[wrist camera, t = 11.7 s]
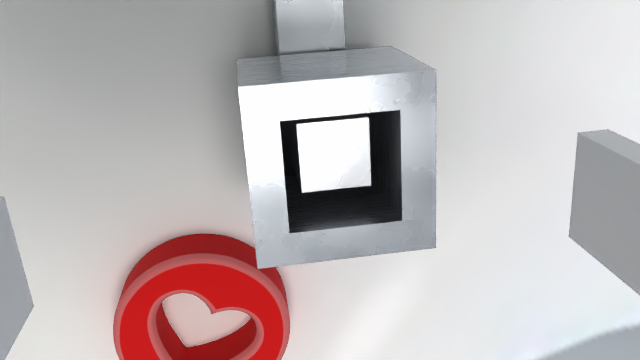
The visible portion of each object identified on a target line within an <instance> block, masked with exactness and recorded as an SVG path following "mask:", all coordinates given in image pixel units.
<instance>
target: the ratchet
mask: <svg viewBox="0 0 640 360" xmlns="http://www.w3.org/2000/svg"><path fill="white" fill-rule="evenodd" d="M273 12H274V24H275V35H276V47H277V56H278V55H290V54H303V53H315V52H327V51H339V50H345V31H344V10H343V0H273ZM280 130H281V142H282V153H283V165H284V176H285V175H295V174H296V175H297V178H298V182H299V185H300V188H301V192H302V193H304V192H314V191H323V190H333V189H342V188H351V187H361V186H370V185H371V166H370V138H369V117H368V116H367V115H366V114H365V113H361V114H350V115H339V116H329V117H318V118H307V119H297V120H286V121H280Z"/></svg>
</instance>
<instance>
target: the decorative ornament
mask: <svg viewBox="0 0 640 360" xmlns="http://www.w3.org/2000/svg"><path fill="white" fill-rule="evenodd" d="M177 293H189V294H193V295H195V296H197V297H199V298H200V299H201V300H202V301H204V302H205V303H206V304H207V306H208V307H209V309H210V311H211V314H214V313H216V312H220V311H224V310H239V311H242V312H245V313H247V314H248V315H250V316H251V317H252V318H251V319H250V320H249V321H248V322H247V323H246V324H245V325H244V326H243V327H241V328H240V329H239V330H237V331H235V332H234V333H232V334H230V335H228V336H226V337H224V338H221V339H219V340H216V341H213V342H210V343H206V344H203V345H199V346H194V347H189V348H187V347H185V346H184V345H183V343H182V342H181V341H180V339H179V338H178V336H177V335H176V333H175V332H174V330H173V329H172V327H171V325H170V324H169V322H168V320H167V318H166V316H165V313H164V311H163V308H162V303H161V302H162V301H163V300H164V299H165V298H167V297H168V296H170V295H173V294H177ZM289 334H290V319H289V312H288V306H287V299H286V293H285V288H284V285H283V282H282V279H281V277H280V275H279V273H278V271H277V270H276V268H275V267H270V268H262V269H258V268H257V258H256V249H255V248H253V247H251V246H250V245H248V244H246V243H244V242H242V241H239V240H237V239H234V238H231V237H227V236H223V235H215V234H193V235H187V236H182V237H178V238H175V239H172V240H170V241H167V242H165V243H163V244H161V245H159V246H157V247H156V248H154V249H153V250H151V251H150V252H149V253H147V254H146V255H145V256H144V257H143V258H142V259H141V260H140V261H139V262H138V263H137V264H136V266H135V267H134V268H133V270H132V271H131V272H130V274H129V276H128V278H127V280H126V282H125V285H124V288H123V291H122V294H121V297H120V300H119V303H118V306H117V309H116V312H115V316H114V325H113V337H114V344H115V348H116V352H117V354H118V357H119V359H120V360H281V359H282V357H283V354H284V352H285V350H286V347H287V344H288V340H289Z"/></svg>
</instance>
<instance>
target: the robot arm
mask: <svg viewBox="0 0 640 360" xmlns="http://www.w3.org/2000/svg"><path fill="white" fill-rule="evenodd" d="M569 237H570V238H571V239H572V240H574V241H575V242H576V243H577V244H578V245H580V246H581V247H582V248H583V249H584V250H586V251H587V252H588V253H589V254H590V255H592V256H593V257H594V258H595V259H596V260H598V261H599V262H600V263H601V264H603V265H604V266H605V267H606V268H607V269H609V270H610V271H611V272H612V273H613V274H615V275H616V276H617V277H618V278H619V279H621V280H622V281H623V282H624V283H625V284H627V285H628V286H629V287H630V288H632V289H633V290H634V291H635V292H636V293H638V294H639V295H640V144H638V143H636V142H634V141H632V140H630V139H627V138H625V137H623V136H621V135H619V134H617V133H614V132H612V131H610V130H608V129H607V130H598V131H589V132H580V133H578V137H577V148H576V160H575V171H574V183H573V194H572V206H571V217H570V229H569ZM33 307H34V305H33V301H32V298H31V294H30V290H29V287H28V283H27V279H26V276H25V272H24V268H23V265H22V261H21V257H20V253H19V250H18V246H17V242H16V239H15V235H14V231H13V228H12V224H11V220H10V217H9V213H8V209H7V206H6V202H5V198H4V196H2V197H0V360H5V358H6V356H7V354H8V353H9V351H10V349H11V347H12V345H13V343H14V342H15V340H16V338H17V336H18V334H19V332H20V331H21V329H22V327H23V325H24V323H25V321H26V320H27V318H28V316H29V314H30V312H31V310H32V309H33Z"/></svg>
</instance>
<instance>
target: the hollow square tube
mask: <svg viewBox="0 0 640 360" xmlns="http://www.w3.org/2000/svg"><path fill="white" fill-rule="evenodd" d="M237 78H238V93H239V102H240V111H241V121H242V130H243V139H244V148H245V157H246V167H247V176H248V185H249V194H250V203H251V213H252V222H253V231H254V240H255V249H256V258H257V268H258V269H262V268H270V267H278V266H287V265H295V264H304V263H312V262H321V261H329V260H338V259H346V258H355V257H363V256H371V255H380V254H388V253H397V252H405V251H414V250H422V249H431V248H436V69H434V68H432V67H430V66H428V65H426V64H424V63H422V62H420V61H418V60H417V59H415V58H413V57H411V56H409V55H407V54H405V53H403V52H401V51H399V50H397V49H395V48H394V47H392V46H388V47H376V48H363V49H351V50H339V51H327V52H315V53H303V54H290V55H278V56H266V57H254V58H242V59H237ZM361 113H365V114H366V115H367V116H368V117H369V138H370V166H371V185H370V186H361V187H351V188H342V189H333V190H323V191H314V192H304V193H302V192H301V188H300V185H299V182H298V178H297V175H296V174H295V175H285V176H284V165H283V153H282V142H281V130H280V121H286V120H297V119H307V118H318V117H329V116H339V115H350V114H361Z"/></svg>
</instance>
